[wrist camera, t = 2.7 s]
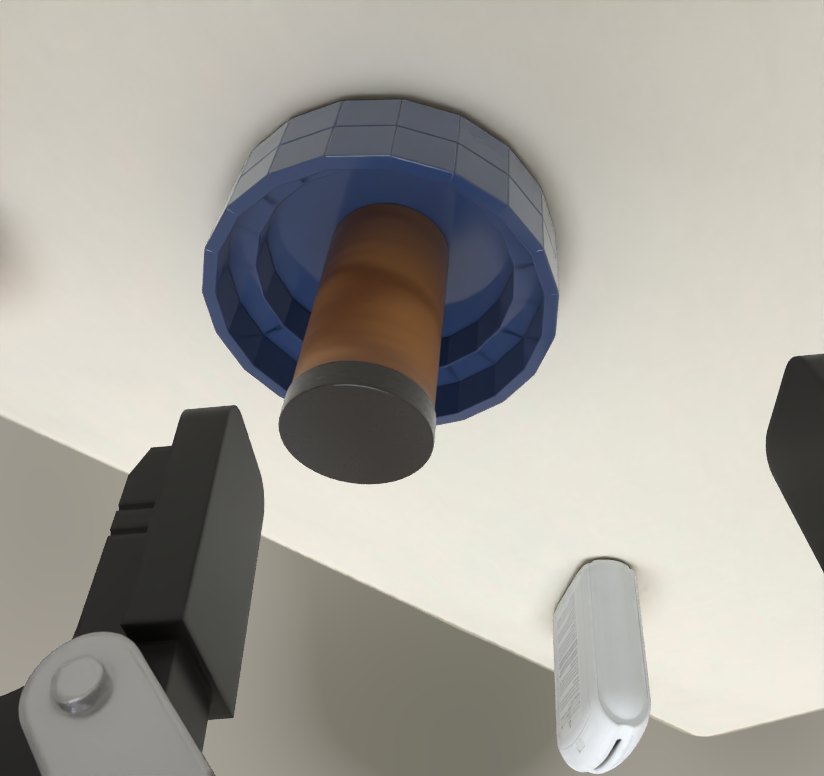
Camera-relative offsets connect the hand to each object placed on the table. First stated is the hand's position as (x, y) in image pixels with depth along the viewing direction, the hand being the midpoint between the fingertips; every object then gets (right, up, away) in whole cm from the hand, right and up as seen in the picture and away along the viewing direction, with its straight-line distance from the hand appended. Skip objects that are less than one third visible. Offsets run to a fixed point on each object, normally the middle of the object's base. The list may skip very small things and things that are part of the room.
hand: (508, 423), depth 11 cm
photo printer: (+12, -15, +47) cm, 50 cm away
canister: (-2, +7, +25) cm, 26 cm away
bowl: (-2, +7, +25) cm, 26 cm away
